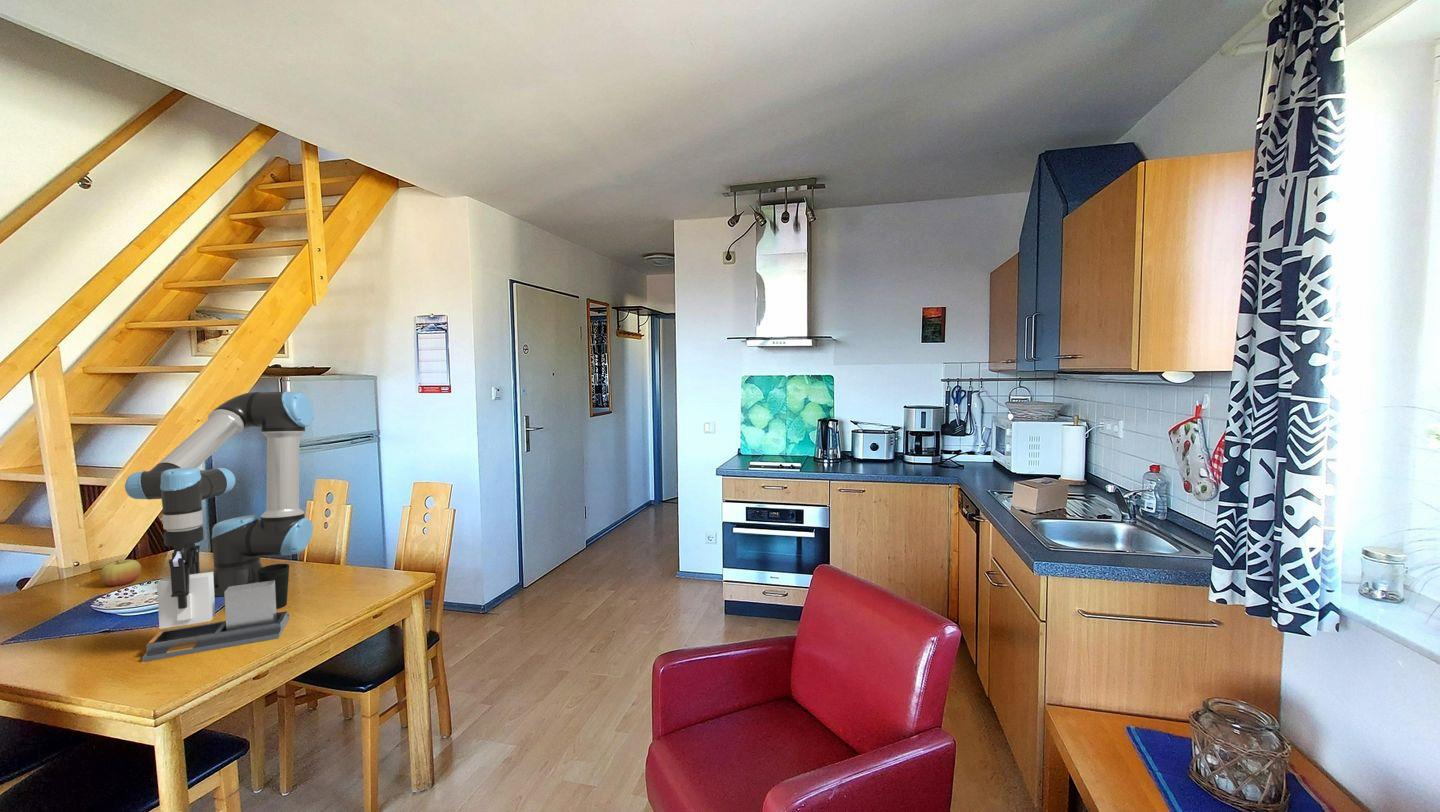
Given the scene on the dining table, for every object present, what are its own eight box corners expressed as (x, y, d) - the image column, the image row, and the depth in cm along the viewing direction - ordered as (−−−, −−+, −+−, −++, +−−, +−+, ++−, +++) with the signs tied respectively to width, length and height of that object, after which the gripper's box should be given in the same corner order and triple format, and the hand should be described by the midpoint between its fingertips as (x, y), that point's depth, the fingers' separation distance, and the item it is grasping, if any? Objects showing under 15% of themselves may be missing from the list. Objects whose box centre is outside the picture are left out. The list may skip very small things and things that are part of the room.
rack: (165, 638, 152) (162, 590, 152) (289, 617, 165) (287, 573, 164) (142, 661, 140) (139, 609, 139) (278, 638, 153) (276, 590, 152)
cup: (273, 612, 168) (271, 573, 168) (252, 610, 170) (250, 571, 169) (297, 602, 176) (295, 564, 175) (277, 600, 178) (275, 562, 177)
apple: (97, 584, 190) (96, 561, 190) (138, 576, 198) (137, 553, 198) (103, 591, 185) (101, 567, 184) (145, 582, 193) (144, 559, 192)
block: (165, 622, 148) (163, 577, 148) (215, 615, 153) (213, 571, 152) (159, 629, 145) (156, 582, 144) (210, 621, 150) (208, 576, 149)
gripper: (176, 522, 153) (181, 606, 155) (150, 538, 138) (155, 632, 140) (212, 518, 157) (217, 601, 158) (190, 534, 142) (195, 625, 143)
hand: (188, 615), depth 149 cm, fingers closed on block, 4 cm apart
